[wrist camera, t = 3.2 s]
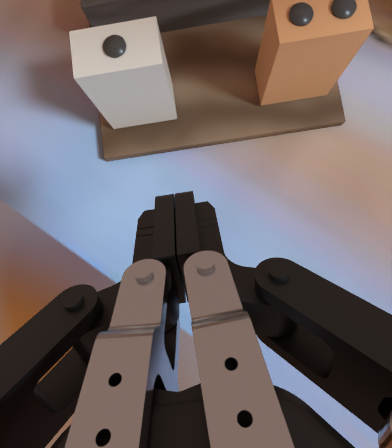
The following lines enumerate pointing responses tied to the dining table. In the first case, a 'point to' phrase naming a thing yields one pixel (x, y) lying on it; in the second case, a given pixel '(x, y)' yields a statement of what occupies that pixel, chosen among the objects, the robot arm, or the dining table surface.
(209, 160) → the dining table surface
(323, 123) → the console
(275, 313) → the robot arm
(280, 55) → the two dot button
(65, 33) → the dining table surface
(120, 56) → the one dot button
